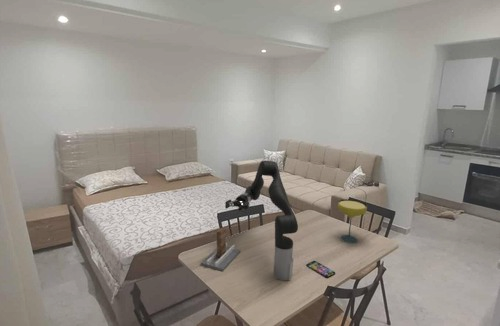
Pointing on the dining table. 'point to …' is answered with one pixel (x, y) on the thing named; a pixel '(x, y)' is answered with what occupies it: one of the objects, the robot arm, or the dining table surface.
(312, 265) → the smartphone
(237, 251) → the track plinth
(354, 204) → the cocktail glass
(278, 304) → the dining table surface
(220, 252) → the brown wooden block
